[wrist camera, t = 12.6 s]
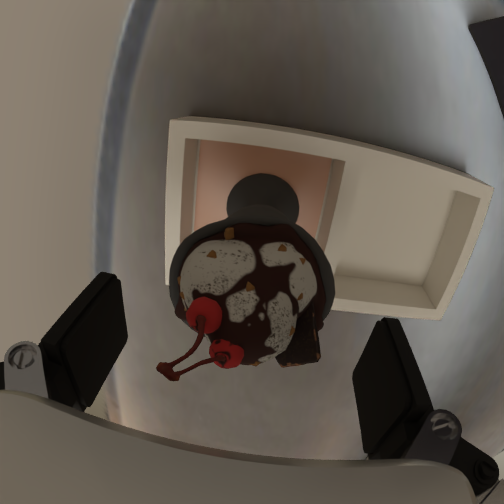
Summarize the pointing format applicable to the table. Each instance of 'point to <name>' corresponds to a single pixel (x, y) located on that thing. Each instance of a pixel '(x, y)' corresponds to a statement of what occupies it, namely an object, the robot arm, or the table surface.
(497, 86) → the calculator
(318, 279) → the sundae
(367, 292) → the carrier tray
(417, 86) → the table surface
